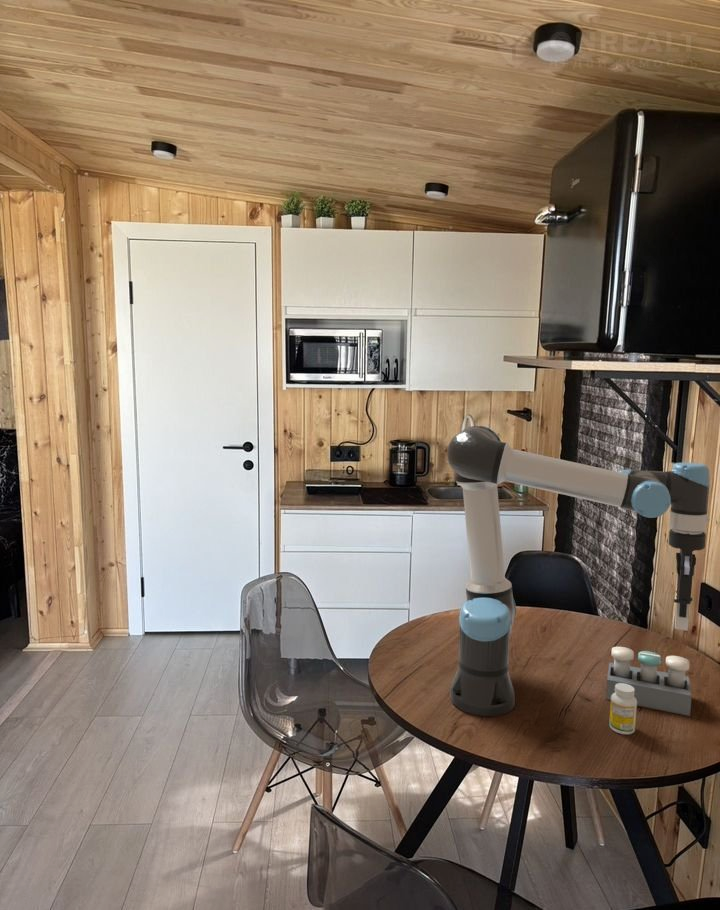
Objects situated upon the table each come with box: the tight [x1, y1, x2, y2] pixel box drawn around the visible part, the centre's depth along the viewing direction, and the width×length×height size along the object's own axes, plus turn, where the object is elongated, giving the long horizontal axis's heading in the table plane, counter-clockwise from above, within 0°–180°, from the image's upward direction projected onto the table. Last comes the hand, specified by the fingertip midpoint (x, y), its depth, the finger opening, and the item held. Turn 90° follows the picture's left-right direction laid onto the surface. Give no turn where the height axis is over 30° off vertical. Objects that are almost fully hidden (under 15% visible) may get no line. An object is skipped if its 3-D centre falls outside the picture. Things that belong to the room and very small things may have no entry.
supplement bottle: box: [609, 683, 638, 736], centre depth 139 cm, size 5×5×10 cm
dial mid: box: [637, 650, 662, 684], centre depth 152 cm, size 5×5×7 cm
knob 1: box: [610, 646, 635, 679], centre depth 155 cm, size 5×5×6 cm
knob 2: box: [665, 655, 690, 689], centre depth 150 cm, size 5×5×6 cm
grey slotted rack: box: [605, 662, 692, 717], centre depth 153 cm, size 10×18×5 cm, turn 66°
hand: (681, 628), depth 148 cm, fingers closed
